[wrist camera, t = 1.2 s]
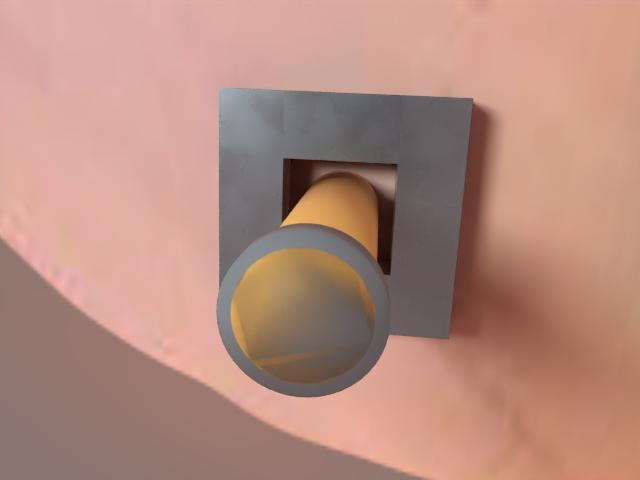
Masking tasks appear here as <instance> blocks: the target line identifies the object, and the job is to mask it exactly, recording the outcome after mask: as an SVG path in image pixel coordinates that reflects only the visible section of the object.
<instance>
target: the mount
mask: <svg viewBox="0 0 640 480" xmlns="http://www.w3.org/2000/svg"><path fill="white" fill-rule="evenodd" d="M472 106H473V98H453V97H429V96H405V95H380V94H356V93H332V92H308V91H284V90H260V89H236V88H219V290H220V287H221V284H222V281H223V279H224V277H225V275H226V274H227V272H228V270H229V269H230V267H231V266H232V265H233V263H234V262H235V261H236V260H237V258H238V257H239V256H240V255H241V254H242V253H243V252H244V250H245V249H246V248H247V247H248V246H249V245H250V244H251V243H252V242H254V241H255V240H256V239H257V238H259V237H260V236H262V235H264V234H265V233H267V232H269V231H271V230H273V229H276V228H278V227H280V226H281V225H282V223H283V222H284V221H285V219H286V218H287V217H288V215H289V204H290V168H291V159H310V160H329V161H349V162H368V163H387V164H397V168H396V181H395V195H394V209H393V223H392V237H391V251H390V262H389V261H377V262H378V264H379V266H380V267H381V269H382V272H383V274H384V276H385V279H386V282H387V286H388V290H389V298H390V329H389V335H402V336H415V337H428V338H441V339H449V332H450V322H451V312H452V302H453V293H454V283H455V273H456V263H457V253H458V243H459V234H460V224H461V214H462V204H463V194H464V184H465V175H466V165H467V155H468V145H469V135H470V125H471V115H472Z"/></svg>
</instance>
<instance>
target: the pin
mask: <svg viewBox="0 0 640 480" xmlns="http://www.w3.org/2000/svg"><path fill="white" fill-rule="evenodd" d="M377 241H378V200H377V196H376V194H375V192H374V190H373V188H372V187H371V185H370V184H369V183H368V182H367V181H366V180H365V179H363V178H362V177H361V176H359V175H357V174H354V173H352V172H348V171H334V172H330V173H327V174H325V175H323V176H321V177H320V178H318V179H317V180H316V181H315V182H314V183H313V184H312V185H311V187H310V188H309V189H308V191H307V192H306V193H305V195H304V196H303V197H302V198H301V200H300V201H299V202H298V204H297V205H296V206H295V208H294V209H293V210H292V212H291V213H290V214H289V215H288V217H287V218H286V219H285V221H284V222H283V223H282V225H281V226H280V227H278V228H276V229H273V230H271V231H269V232H267V233H265V234H264V235H262V236H260V237H259V238H257V239H256V240H255V241H254V242H252V243H251V244H250V245H249V246H248V247H247V248H246V249H245V250H244V252H243V253H242V254H241V255H240V256H239V257H238V258H237V260H236V261H235V262H234V263H233V265H232V266H231V267H230V269H229V270H228V272H227V274H226V275H225V277H224V279H223V281H222V284H221V287H220V290H219V294H218V299H217V311H216V312H217V323H218V328H219V333H220V336H221V339H222V341H223V344H224V346H225V348H226V350H227V352H228V353H229V355H230V356H231V358H232V359H233V361H234V362H235V363H236V364H237V366H238V367H239V368H240V369H241V370H242V371H243V372H244V373H245V374H246V375H248V376H249V377H250V378H251V379H253V380H254V381H256V382H257V383H259V384H260V385H262V386H264V387H266V388H268V389H270V390H273V391H275V392H278V393H281V394H285V395H289V396H296V397H320V396H325V395H330V394H333V393H336V392H339V391H342V390H344V389H346V388H348V387H350V386H352V385H353V384H355V383H356V382H358V381H359V380H361V379H362V378H363V377H364V376H365V375H366V374H367V373H369V371H370V370H371V369H372V368H373V367H374V365H375V364H376V363H377V361H378V360H379V358H380V356H381V355H382V352H383V350H384V348H385V346H386V343H387V339H388V336H389V329H390V298H389V290H388V286H387V282H386V279H385V276H384V274H383V272H382V269H381V267H380V266H379V264H378V262H377Z"/></svg>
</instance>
